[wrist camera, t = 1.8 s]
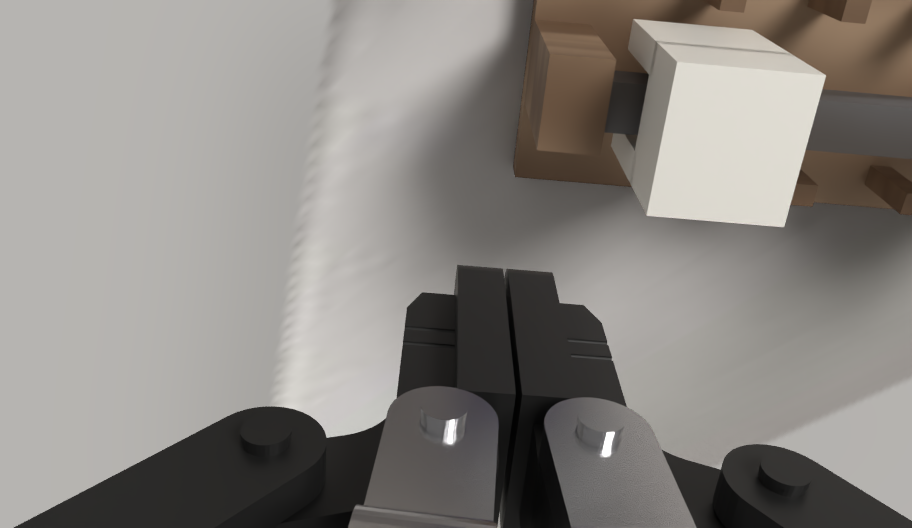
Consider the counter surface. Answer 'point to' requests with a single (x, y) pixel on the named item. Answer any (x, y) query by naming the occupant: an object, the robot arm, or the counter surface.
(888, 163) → the brown peg stand
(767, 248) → the counter surface
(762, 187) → the grooved cream cube
